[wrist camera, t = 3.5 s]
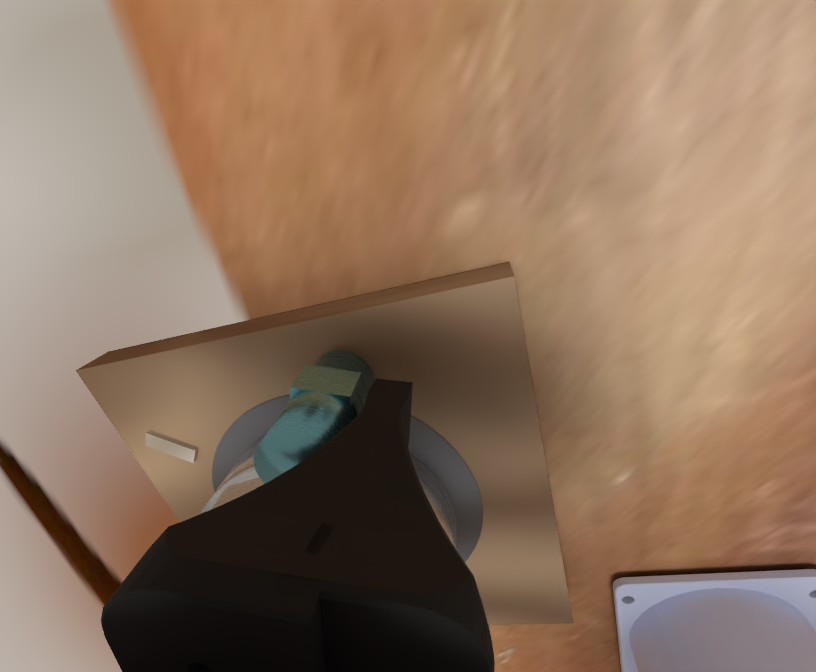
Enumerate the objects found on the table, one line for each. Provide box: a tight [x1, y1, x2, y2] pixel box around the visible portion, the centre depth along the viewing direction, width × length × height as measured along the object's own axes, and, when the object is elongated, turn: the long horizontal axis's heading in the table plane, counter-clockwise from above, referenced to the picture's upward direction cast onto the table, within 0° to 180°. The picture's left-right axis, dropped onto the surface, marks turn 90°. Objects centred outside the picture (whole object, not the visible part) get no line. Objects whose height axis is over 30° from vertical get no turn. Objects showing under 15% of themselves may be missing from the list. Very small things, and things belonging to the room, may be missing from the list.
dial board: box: [76, 262, 573, 625], centre depth 17 cm, size 16×16×2 cm
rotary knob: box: [200, 350, 456, 549], centre depth 13 cm, size 12×9×4 cm
